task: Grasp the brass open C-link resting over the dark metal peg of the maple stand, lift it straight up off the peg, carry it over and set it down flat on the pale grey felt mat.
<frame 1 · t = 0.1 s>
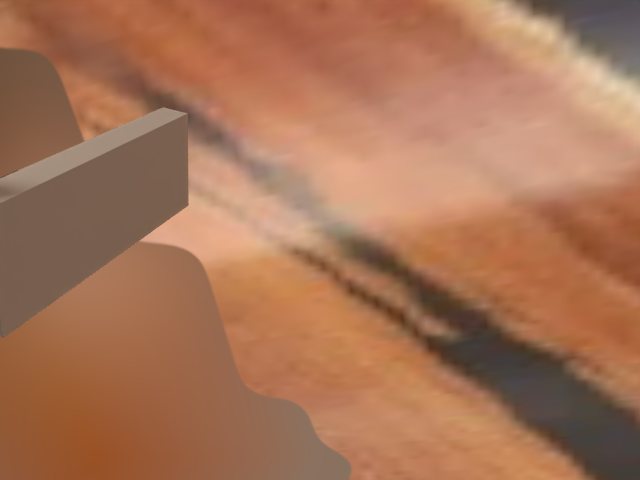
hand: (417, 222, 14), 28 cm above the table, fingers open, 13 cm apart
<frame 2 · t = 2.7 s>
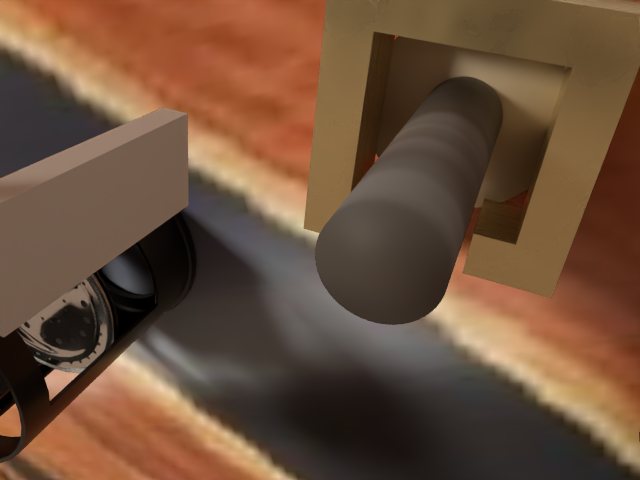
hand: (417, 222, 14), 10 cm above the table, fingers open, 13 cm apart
peg stand: (470, 101, 22), on the table
french press: (124, 244, 33), on the table
brass C-link: (462, 115, 21), point 2 cm above the table, touching peg stand
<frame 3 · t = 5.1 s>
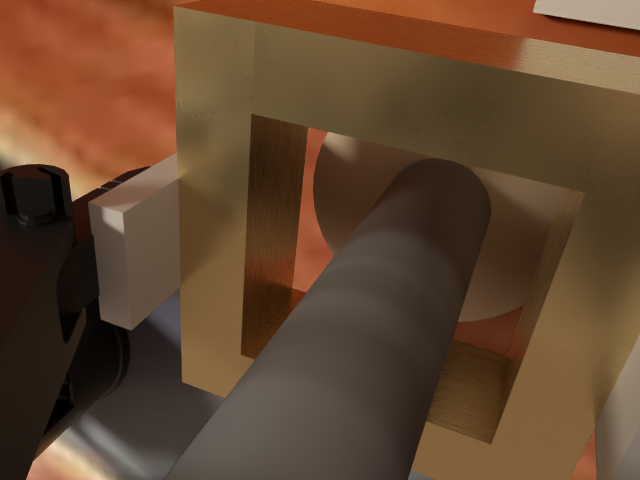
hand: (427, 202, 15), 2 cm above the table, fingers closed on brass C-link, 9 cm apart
peg stand: (450, 182, 17), on the table
french press: (48, 320, 28), on the table
brass C-link: (414, 224, 14), point 4 cm above the table, touching gripper
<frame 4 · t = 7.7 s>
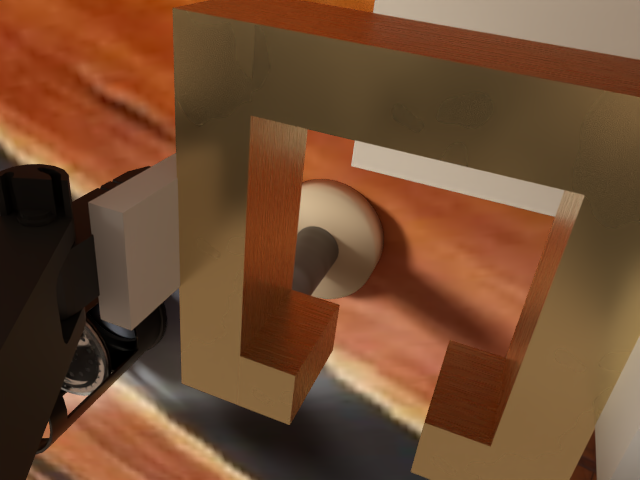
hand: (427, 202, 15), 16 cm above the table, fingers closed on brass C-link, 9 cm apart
peg stand: (328, 232, 37), on the table
wooden figurine: (527, 425, 38), on the table
french press: (117, 303, 47), on the table
brass C-link: (413, 225, 14), point 18 cm above the table, touching gripper
felt mat: (496, 72, 29), on the table
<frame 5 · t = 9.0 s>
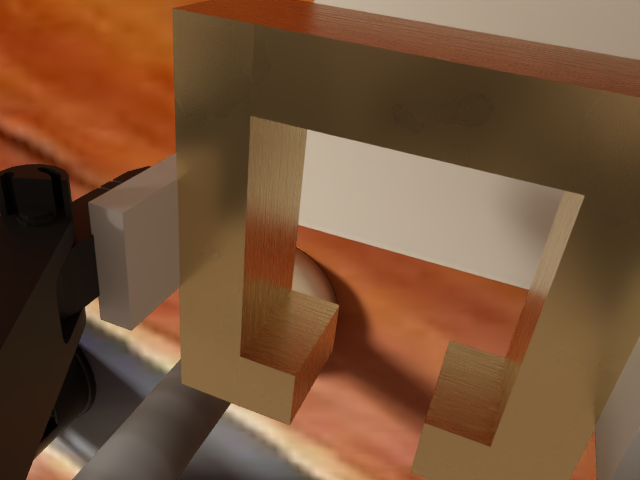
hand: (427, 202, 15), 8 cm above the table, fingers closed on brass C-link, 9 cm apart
peg stand: (271, 298, 30), on the table
french press: (40, 364, 41), on the table
brass C-link: (413, 226, 14), point 10 cm above the table, touching gripper
felt mat: (469, 113, 22), on the table
when the fingers open (1 cm above the table, at t = 10.2 s): brass C-link drops 2 cm, resting on felt mat.
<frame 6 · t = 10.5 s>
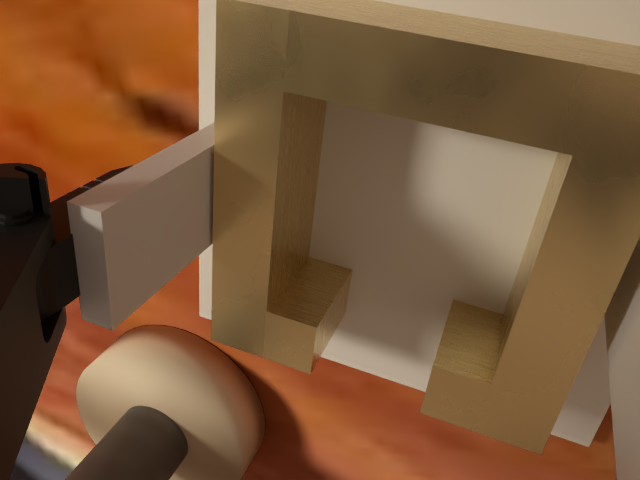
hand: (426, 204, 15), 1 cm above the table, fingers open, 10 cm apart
peg stand: (184, 398, 24), on the table
brass C-link: (421, 194, 15), resting on felt mat
felt mat: (418, 188, 16), on the table
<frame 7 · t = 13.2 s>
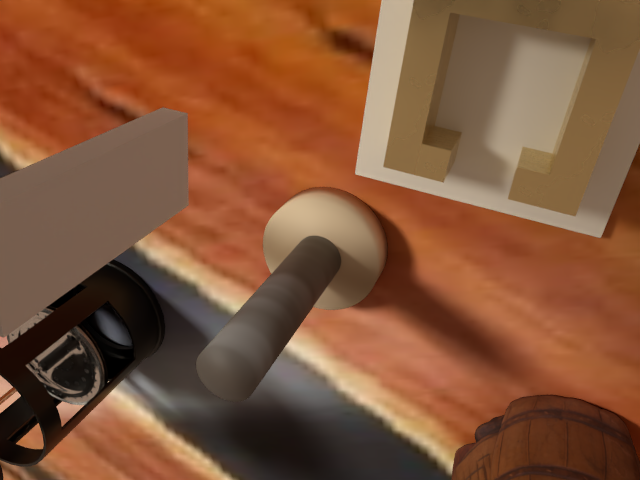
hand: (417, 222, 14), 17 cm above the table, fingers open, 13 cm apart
peg stand: (330, 242, 36), on the table
wooden figurine: (533, 440, 37), on the table
french press: (114, 311, 46), on the table
brass C-link: (508, 81, 27), resting on felt mat
felt mat: (505, 79, 28), on the table
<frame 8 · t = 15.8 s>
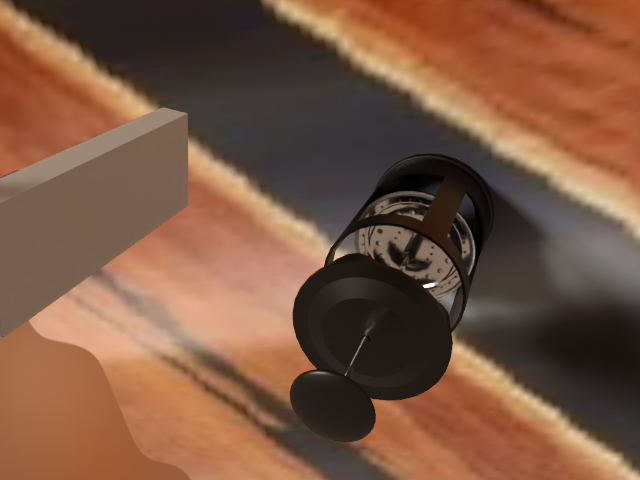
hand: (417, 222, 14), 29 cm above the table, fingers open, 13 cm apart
french press: (428, 214, 46), on the table
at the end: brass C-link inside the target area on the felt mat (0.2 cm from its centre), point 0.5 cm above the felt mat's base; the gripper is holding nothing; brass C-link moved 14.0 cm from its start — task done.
